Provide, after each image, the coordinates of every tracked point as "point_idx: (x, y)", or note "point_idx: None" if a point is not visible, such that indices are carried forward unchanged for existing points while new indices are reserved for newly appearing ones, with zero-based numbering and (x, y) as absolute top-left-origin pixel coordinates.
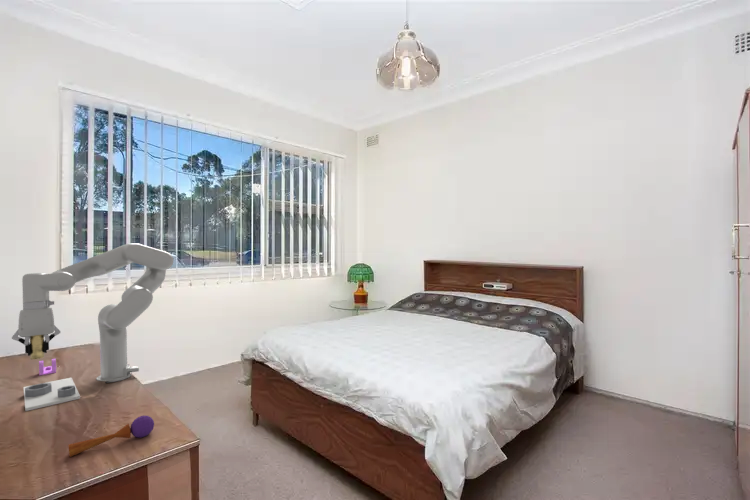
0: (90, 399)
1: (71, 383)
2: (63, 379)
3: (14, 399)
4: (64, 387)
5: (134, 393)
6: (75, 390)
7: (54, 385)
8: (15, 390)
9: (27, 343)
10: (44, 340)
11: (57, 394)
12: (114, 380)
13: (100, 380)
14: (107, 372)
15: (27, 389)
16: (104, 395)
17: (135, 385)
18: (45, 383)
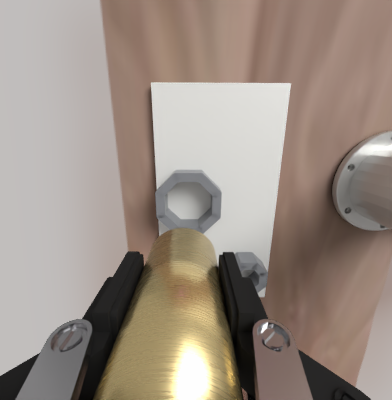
0: (276, 312)
1: (273, 169)
2: (265, 90)
3: (137, 181)
4: (245, 269)
5: (350, 337)
6: (266, 248)
7: (231, 150)
8: (131, 73)
9: (92, 392)
10: (241, 355)
11: (226, 249)
12: (365, 229)
13: (339, 209)
14: (376, 221)
15: (162, 212)
16: (304, 308)
17: (379, 290)
18: (208, 184)
